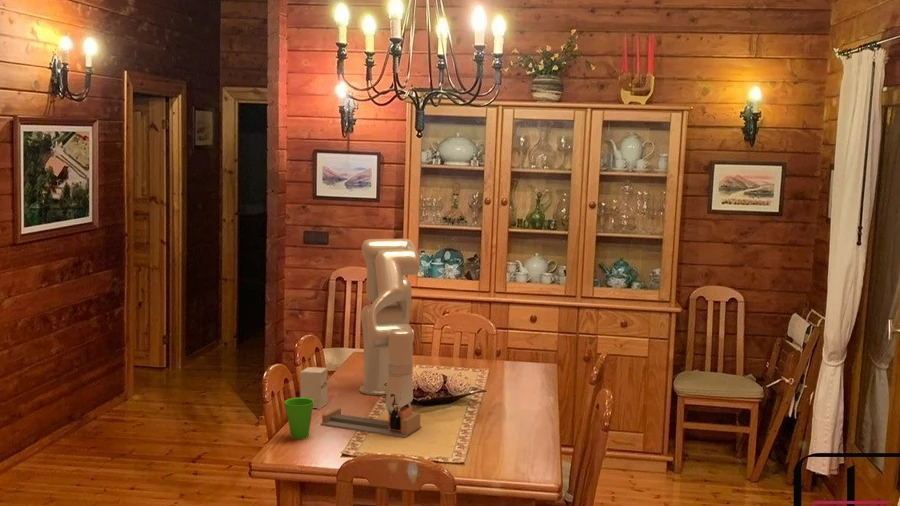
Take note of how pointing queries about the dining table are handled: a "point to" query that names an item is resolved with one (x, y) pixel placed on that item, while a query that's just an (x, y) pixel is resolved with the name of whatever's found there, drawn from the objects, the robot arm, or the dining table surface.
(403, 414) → the orange cube
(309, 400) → the cup
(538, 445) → the dining table surface
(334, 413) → the track
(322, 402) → the supplement box
